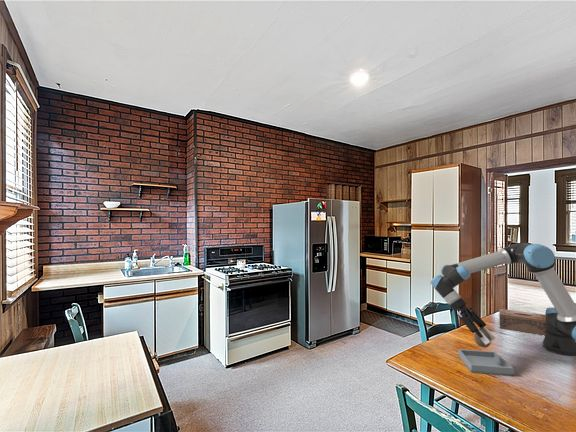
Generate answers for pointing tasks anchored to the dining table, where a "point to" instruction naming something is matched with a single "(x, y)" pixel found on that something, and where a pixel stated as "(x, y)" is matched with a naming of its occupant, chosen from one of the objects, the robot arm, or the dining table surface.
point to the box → (485, 362)
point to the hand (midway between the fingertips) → (490, 341)
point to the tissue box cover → (522, 321)
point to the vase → (479, 341)
